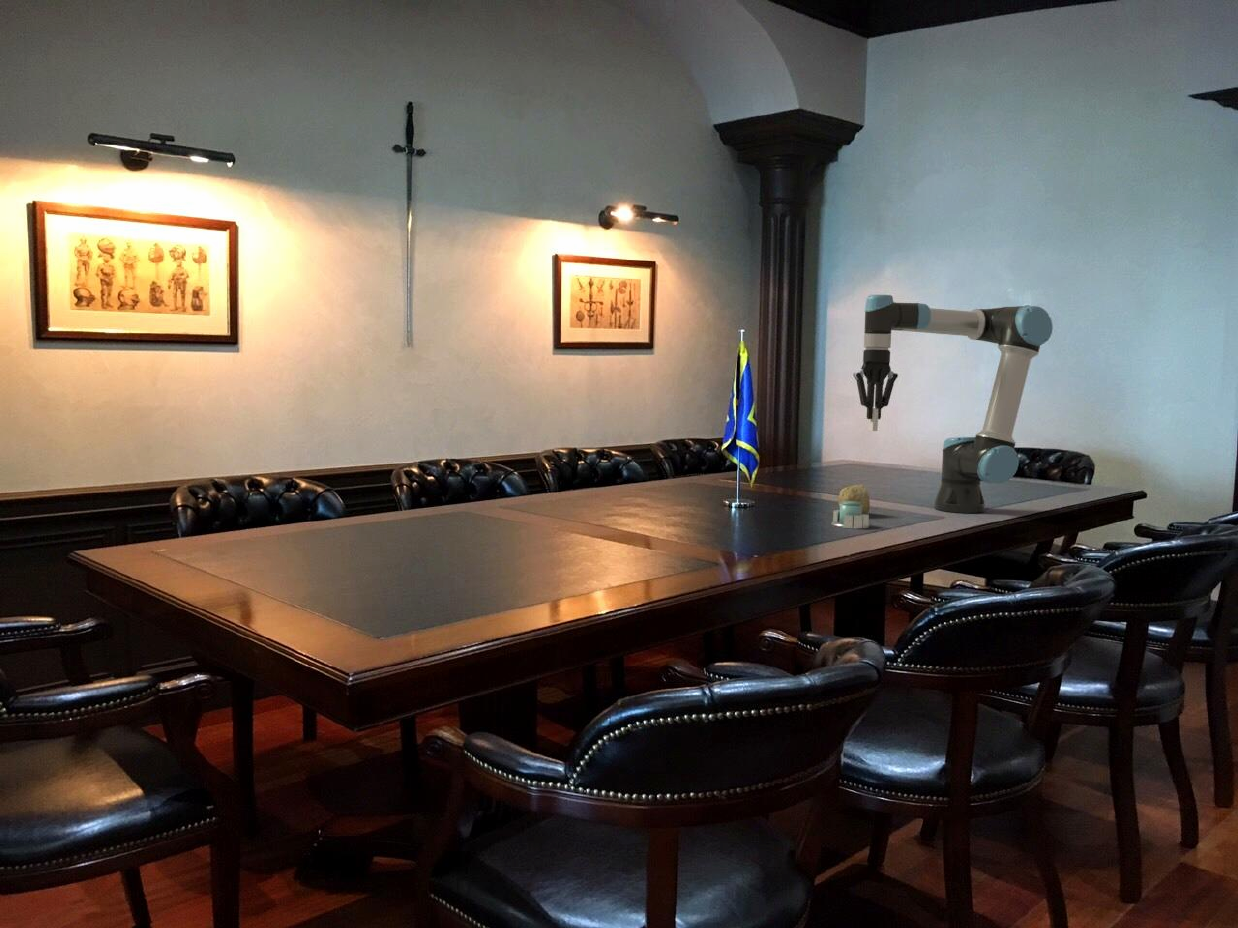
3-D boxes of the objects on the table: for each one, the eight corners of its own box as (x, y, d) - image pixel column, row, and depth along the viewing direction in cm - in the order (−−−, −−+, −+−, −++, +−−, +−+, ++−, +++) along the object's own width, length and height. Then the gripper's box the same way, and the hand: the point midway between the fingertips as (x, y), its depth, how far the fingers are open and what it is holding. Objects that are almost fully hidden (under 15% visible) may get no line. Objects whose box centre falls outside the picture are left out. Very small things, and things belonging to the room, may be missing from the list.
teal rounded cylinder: (856, 521, 297) (857, 500, 297) (864, 524, 291) (865, 503, 291) (836, 521, 296) (837, 500, 296) (844, 525, 290) (845, 504, 290)
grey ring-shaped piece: (860, 521, 300) (861, 509, 300) (875, 528, 290) (876, 515, 289) (826, 522, 298) (826, 509, 298) (839, 528, 288) (840, 515, 288)
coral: (882, 494, 308) (854, 481, 306) (867, 525, 309) (839, 512, 307) (870, 487, 318) (842, 475, 315) (855, 517, 319) (827, 504, 316)
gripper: (892, 349, 302) (888, 429, 305) (850, 348, 300) (846, 429, 303) (903, 349, 295) (899, 431, 298) (860, 348, 293) (856, 431, 296)
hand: (873, 430), depth 300 cm, fingers closed
